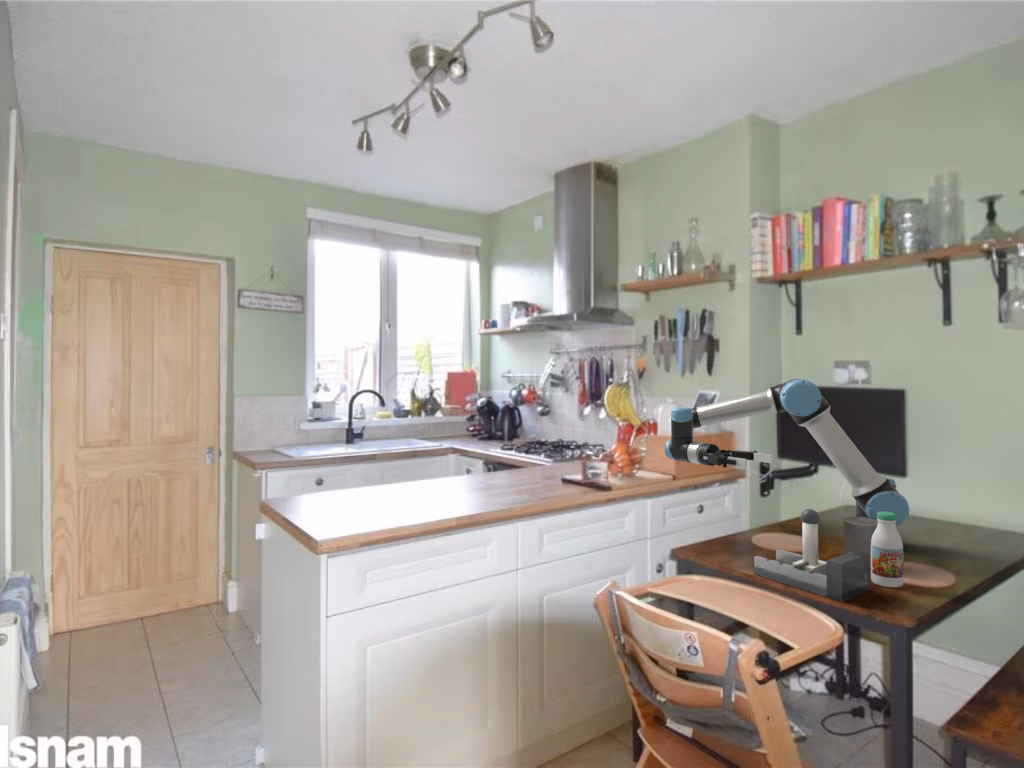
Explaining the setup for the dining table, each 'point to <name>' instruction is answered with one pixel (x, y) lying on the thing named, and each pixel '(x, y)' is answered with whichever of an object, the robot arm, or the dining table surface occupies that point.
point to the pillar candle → (858, 535)
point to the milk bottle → (887, 552)
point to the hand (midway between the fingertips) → (759, 461)
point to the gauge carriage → (810, 543)
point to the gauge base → (839, 583)
